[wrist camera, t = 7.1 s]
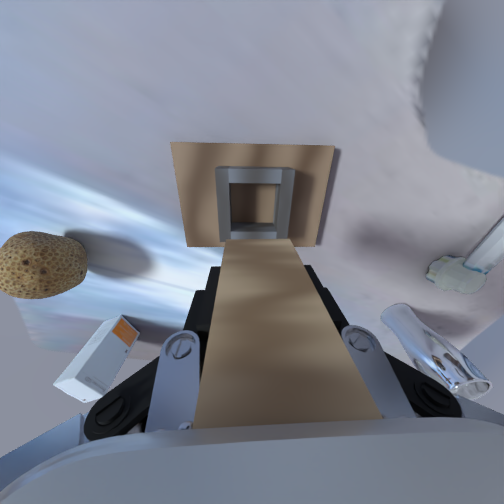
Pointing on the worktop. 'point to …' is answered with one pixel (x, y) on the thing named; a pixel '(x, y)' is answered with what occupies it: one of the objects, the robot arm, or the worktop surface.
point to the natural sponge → (41, 265)
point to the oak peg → (275, 346)
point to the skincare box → (99, 361)
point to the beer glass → (435, 354)
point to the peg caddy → (251, 191)
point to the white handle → (469, 265)
